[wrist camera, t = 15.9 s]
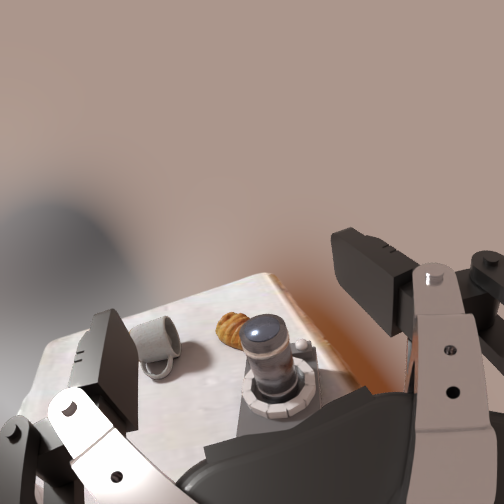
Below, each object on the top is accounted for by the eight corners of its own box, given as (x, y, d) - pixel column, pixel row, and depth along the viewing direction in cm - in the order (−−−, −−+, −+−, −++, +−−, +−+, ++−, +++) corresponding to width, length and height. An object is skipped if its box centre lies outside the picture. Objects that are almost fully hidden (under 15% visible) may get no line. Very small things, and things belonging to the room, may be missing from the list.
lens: (258, 407, 36) (234, 348, 31) (261, 375, 40) (240, 315, 35) (300, 403, 35) (286, 342, 30) (299, 372, 39) (286, 309, 34)
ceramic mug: (144, 346, 59) (127, 318, 55) (181, 337, 59) (166, 307, 56) (140, 385, 50) (120, 356, 46) (182, 376, 50) (164, 346, 47)
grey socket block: (246, 453, 35) (230, 427, 31) (254, 375, 47) (243, 344, 44) (324, 447, 33) (320, 421, 30) (318, 368, 45) (313, 335, 42)
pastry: (274, 337, 54) (270, 321, 52) (246, 360, 51) (240, 345, 49) (240, 319, 61) (235, 304, 59) (214, 339, 57) (207, 324, 56)
